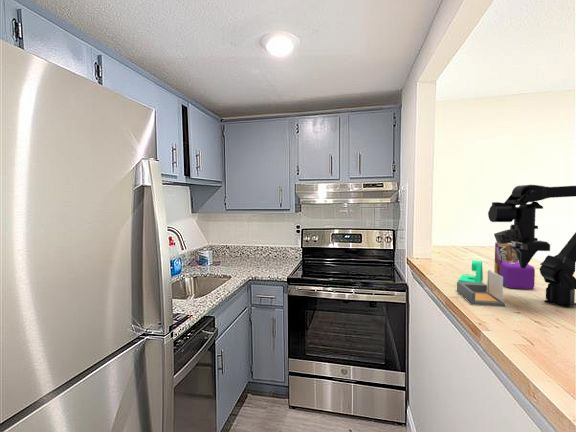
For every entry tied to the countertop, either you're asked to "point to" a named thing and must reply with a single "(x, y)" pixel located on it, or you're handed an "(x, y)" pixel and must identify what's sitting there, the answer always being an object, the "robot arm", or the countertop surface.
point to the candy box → (503, 255)
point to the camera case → (477, 294)
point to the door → (495, 285)
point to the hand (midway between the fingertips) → (522, 267)
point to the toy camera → (517, 275)
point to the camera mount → (479, 273)
